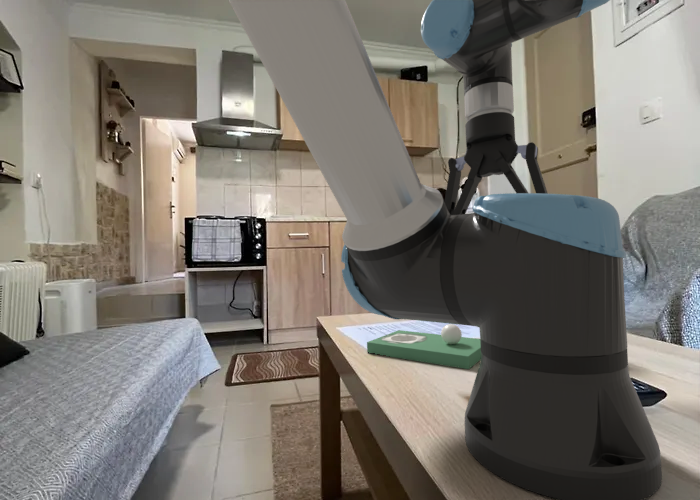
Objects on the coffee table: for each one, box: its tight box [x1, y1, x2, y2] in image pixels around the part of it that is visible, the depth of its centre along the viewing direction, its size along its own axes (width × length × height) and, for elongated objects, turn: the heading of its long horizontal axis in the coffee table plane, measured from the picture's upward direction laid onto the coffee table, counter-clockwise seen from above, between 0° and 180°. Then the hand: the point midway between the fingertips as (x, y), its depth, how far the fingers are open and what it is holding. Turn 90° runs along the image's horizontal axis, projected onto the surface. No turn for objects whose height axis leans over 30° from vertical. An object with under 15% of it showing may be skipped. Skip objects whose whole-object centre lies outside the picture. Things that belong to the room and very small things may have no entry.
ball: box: [440, 323, 463, 344], centre depth 64 cm, size 4×4×4 cm
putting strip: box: [366, 329, 481, 370], centre depth 67 cm, size 12×19×2 cm, turn 53°
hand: (494, 255), depth 59 cm, fingers open, 9 cm apart
